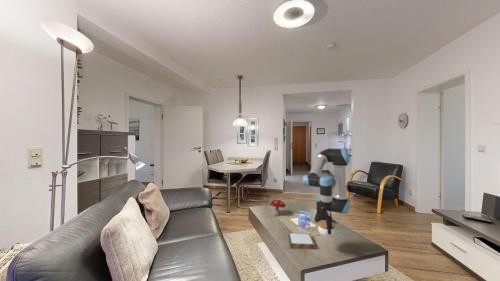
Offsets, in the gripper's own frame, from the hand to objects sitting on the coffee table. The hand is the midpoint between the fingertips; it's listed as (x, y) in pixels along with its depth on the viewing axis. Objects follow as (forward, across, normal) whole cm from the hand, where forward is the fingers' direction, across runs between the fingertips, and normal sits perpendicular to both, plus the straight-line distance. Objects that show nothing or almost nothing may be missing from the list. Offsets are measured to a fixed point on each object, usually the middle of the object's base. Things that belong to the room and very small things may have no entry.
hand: (326, 234), depth 130 cm
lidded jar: (+1, 0, 0) cm, 1 cm away
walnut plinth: (+11, -8, -15) cm, 21 cm away
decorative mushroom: (+12, -58, -29) cm, 66 cm away
